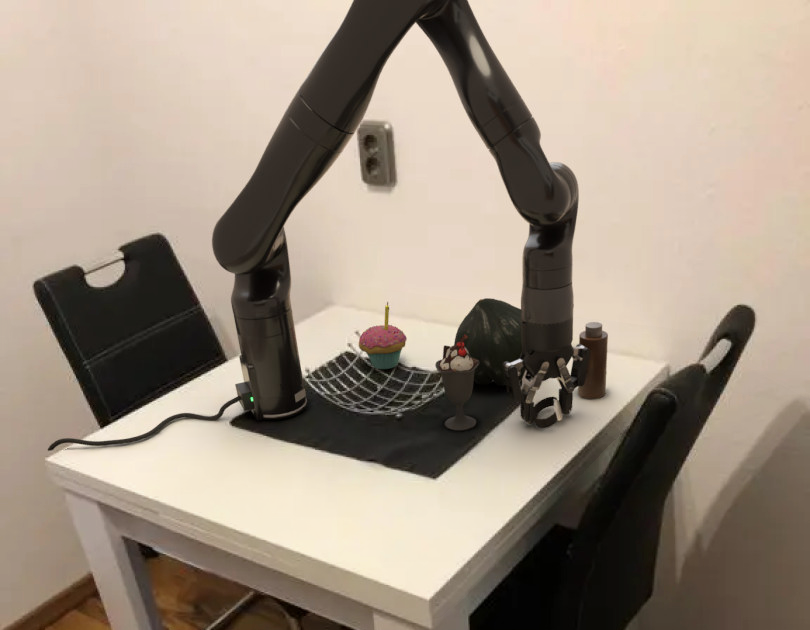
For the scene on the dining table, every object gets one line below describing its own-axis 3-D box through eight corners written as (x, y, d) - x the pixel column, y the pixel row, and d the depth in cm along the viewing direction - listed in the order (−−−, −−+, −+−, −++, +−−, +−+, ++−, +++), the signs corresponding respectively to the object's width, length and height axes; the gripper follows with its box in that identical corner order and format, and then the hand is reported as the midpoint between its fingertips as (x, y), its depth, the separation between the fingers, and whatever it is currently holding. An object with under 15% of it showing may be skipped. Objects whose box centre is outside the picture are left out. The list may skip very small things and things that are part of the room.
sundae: (479, 433, 139) (475, 340, 131) (436, 432, 141) (429, 340, 133) (484, 414, 145) (481, 324, 136) (443, 414, 146) (437, 324, 138)
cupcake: (416, 359, 166) (411, 295, 159) (391, 377, 160) (385, 311, 154) (378, 352, 170) (371, 289, 164) (352, 369, 164) (344, 305, 158)
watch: (560, 432, 138) (560, 410, 136) (529, 431, 139) (528, 409, 137) (564, 409, 144) (564, 388, 142) (534, 409, 145) (534, 388, 143)
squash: (557, 329, 158) (498, 267, 153) (554, 367, 146) (490, 301, 141) (498, 379, 165) (440, 322, 161) (490, 419, 153) (427, 358, 149)
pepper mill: (586, 401, 146) (589, 332, 139) (572, 391, 149) (574, 323, 143) (610, 394, 147) (613, 326, 140) (596, 385, 150) (598, 317, 144)
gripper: (577, 295, 136) (574, 398, 146) (490, 314, 133) (493, 419, 142) (604, 310, 131) (599, 416, 140) (514, 330, 127) (516, 438, 136)
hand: (546, 417), depth 141 cm, fingers closed on watch, 5 cm apart
